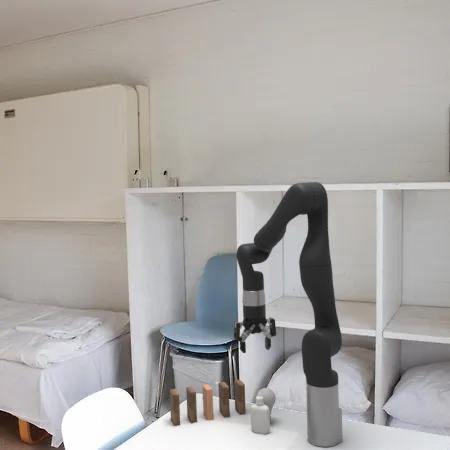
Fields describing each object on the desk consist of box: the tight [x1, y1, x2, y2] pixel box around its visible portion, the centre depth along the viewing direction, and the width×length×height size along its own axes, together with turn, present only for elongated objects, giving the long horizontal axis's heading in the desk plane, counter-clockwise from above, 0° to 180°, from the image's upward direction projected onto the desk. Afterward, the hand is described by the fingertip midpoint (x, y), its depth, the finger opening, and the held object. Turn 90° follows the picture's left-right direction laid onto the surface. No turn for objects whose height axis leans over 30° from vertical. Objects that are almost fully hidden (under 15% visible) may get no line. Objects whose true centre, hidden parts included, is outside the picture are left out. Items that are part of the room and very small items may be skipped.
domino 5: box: [233, 379, 246, 416], centre depth 178 cm, size 2×5×10 cm, turn 18°
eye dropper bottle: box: [250, 392, 271, 435], centre depth 163 cm, size 4×6×12 cm
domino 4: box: [218, 381, 231, 419], centre depth 176 cm, size 2×5×10 cm, turn 18°
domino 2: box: [185, 385, 198, 424], centre depth 173 cm, size 2×5×10 cm, turn 18°
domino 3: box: [202, 383, 214, 421], centre depth 174 cm, size 2×5×10 cm, turn 18°
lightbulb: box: [255, 387, 277, 421], centre depth 169 cm, size 6×6×11 cm
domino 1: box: [169, 388, 181, 427], centre depth 171 cm, size 2×5×10 cm, turn 18°
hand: (255, 350), depth 178 cm, fingers open, 8 cm apart
